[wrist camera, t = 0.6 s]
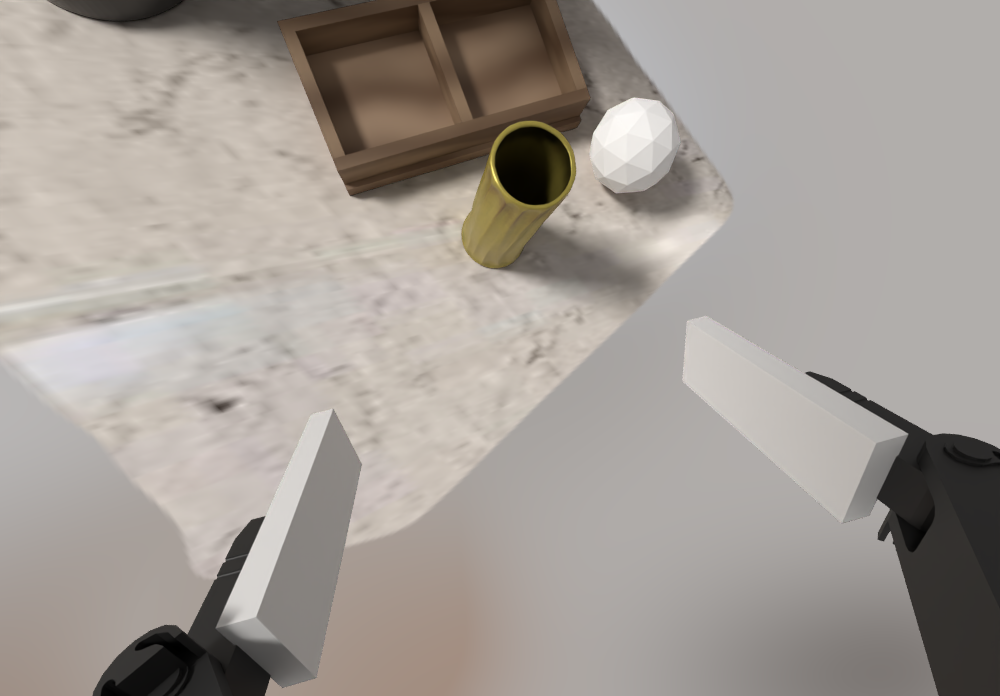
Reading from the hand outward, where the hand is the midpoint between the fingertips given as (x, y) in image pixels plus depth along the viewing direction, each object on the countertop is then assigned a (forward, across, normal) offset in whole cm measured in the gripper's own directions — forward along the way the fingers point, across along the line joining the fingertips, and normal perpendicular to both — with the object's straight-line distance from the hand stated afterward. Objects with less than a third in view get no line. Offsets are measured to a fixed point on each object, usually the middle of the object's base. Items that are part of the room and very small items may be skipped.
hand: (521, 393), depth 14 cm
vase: (+25, +3, 0) cm, 25 cm away
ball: (+28, +17, +4) cm, 33 cm away
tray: (+31, +2, +13) cm, 33 cm away
